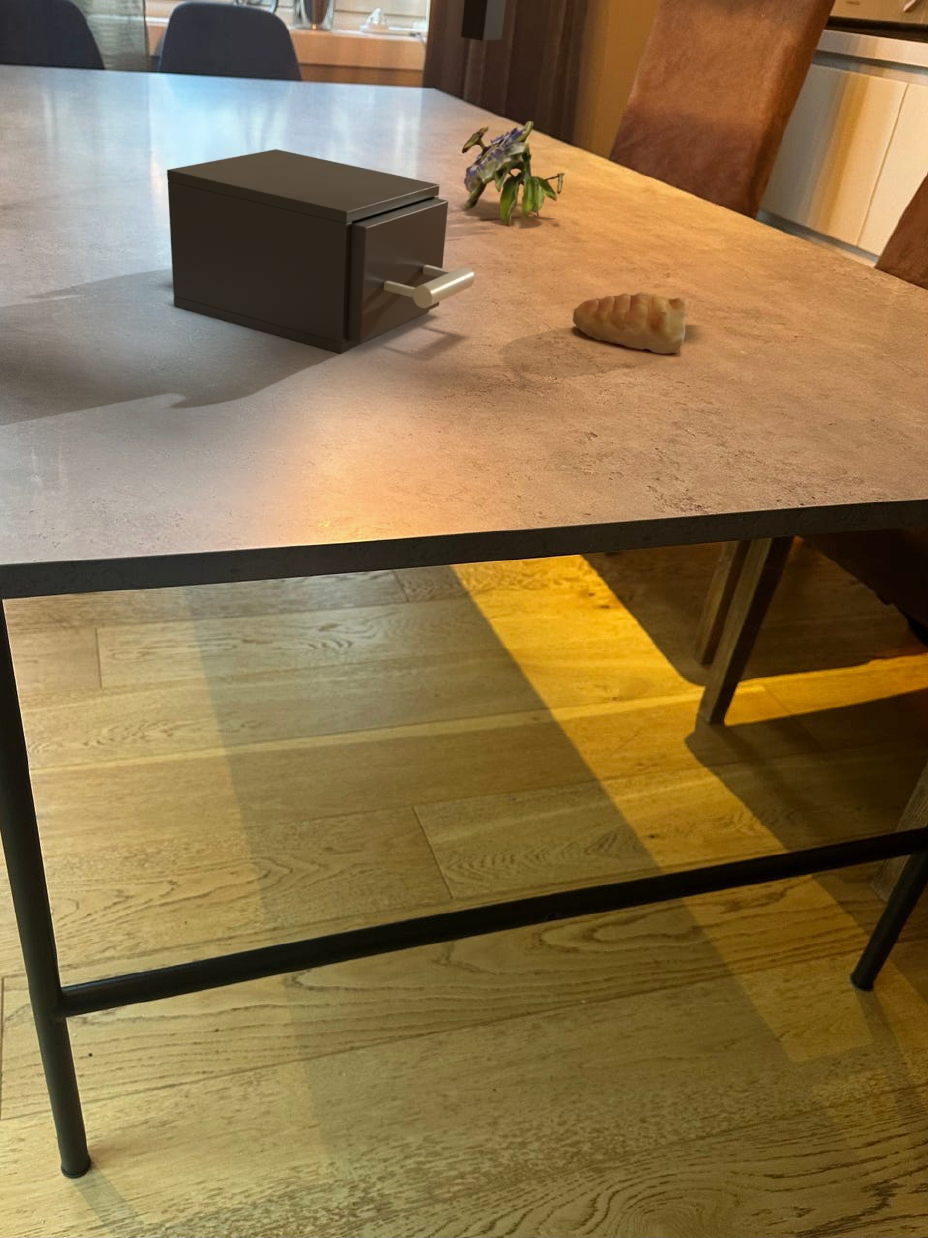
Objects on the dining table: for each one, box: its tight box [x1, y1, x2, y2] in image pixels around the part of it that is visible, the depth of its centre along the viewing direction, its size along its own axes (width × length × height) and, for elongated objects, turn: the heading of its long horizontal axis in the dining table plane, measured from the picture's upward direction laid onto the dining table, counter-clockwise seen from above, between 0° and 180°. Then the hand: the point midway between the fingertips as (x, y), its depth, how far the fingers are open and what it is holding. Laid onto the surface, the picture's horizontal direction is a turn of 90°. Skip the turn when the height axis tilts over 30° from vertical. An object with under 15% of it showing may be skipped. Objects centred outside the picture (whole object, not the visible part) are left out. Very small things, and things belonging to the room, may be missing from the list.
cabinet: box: [166, 148, 441, 354], centre depth 82 cm, size 16×14×10 cm
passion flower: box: [461, 120, 566, 227], centre depth 119 cm, size 11×11×12 cm
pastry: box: [572, 291, 688, 354], centre depth 86 cm, size 9×7×4 cm
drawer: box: [347, 197, 475, 343], centre depth 81 cm, size 19×12×8 cm, turn 63°
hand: (481, 37), depth 64 cm, fingers closed
